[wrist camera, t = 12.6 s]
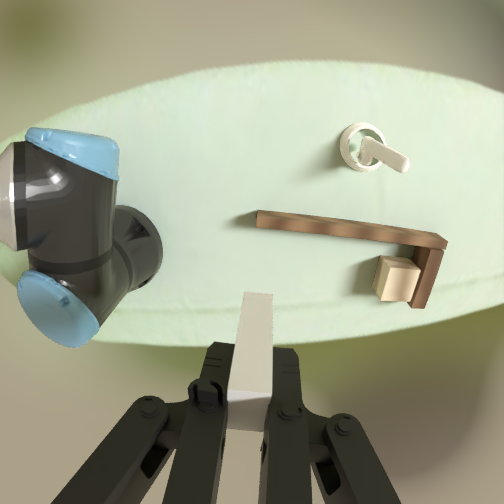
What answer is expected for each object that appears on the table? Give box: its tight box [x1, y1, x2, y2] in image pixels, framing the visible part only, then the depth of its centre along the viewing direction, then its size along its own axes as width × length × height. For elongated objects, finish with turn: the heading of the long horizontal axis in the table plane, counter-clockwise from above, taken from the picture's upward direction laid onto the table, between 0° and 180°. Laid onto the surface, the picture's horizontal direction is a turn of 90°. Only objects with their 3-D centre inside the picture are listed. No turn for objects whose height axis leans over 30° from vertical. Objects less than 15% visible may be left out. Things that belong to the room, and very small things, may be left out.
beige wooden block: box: [372, 255, 421, 302], centre depth 43 cm, size 6×6×5 cm
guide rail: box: [256, 210, 448, 309], centre depth 42 cm, size 32×12×5 cm, turn 85°
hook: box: [340, 123, 410, 173], centre depth 35 cm, size 8×12×7 cm
